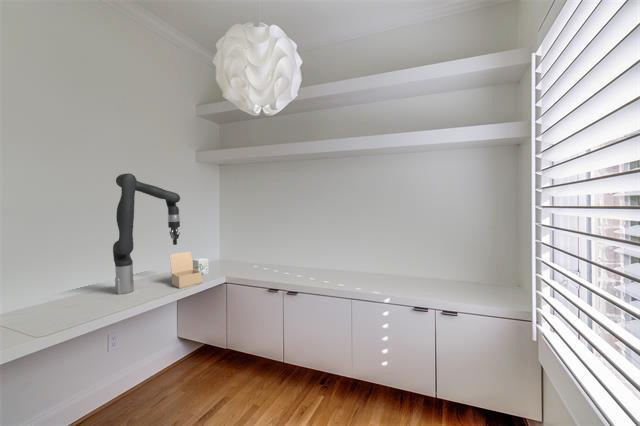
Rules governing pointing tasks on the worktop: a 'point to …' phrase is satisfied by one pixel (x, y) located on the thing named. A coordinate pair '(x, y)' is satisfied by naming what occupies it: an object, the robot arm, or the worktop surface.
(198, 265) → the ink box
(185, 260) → the lid
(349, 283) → the worktop surface
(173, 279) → the carton
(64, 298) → the worktop surface
